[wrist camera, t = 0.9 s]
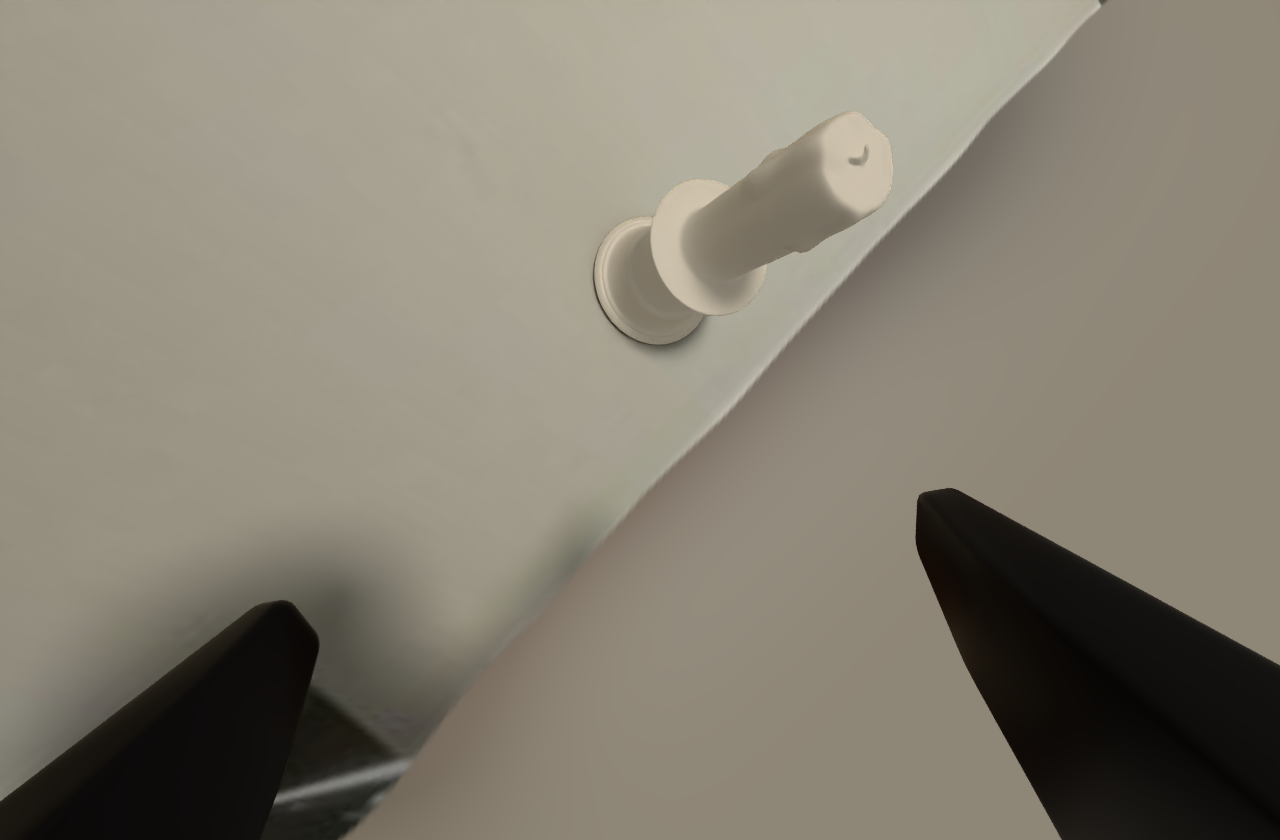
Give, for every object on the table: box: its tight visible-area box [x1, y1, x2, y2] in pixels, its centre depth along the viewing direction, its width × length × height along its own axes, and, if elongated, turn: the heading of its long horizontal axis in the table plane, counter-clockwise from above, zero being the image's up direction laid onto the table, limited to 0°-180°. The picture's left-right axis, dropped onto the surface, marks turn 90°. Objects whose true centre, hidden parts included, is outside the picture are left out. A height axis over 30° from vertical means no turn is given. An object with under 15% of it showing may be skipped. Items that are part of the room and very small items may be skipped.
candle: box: [594, 111, 893, 345], centre depth 18 cm, size 5×5×12 cm
